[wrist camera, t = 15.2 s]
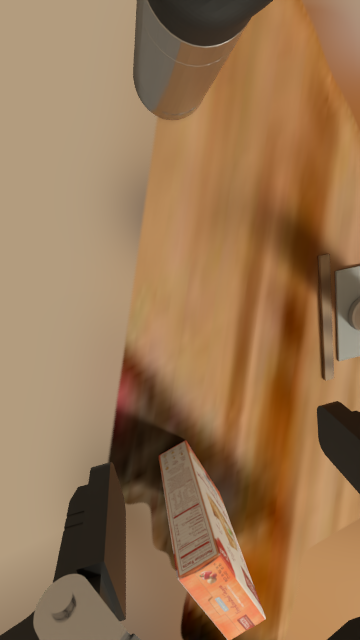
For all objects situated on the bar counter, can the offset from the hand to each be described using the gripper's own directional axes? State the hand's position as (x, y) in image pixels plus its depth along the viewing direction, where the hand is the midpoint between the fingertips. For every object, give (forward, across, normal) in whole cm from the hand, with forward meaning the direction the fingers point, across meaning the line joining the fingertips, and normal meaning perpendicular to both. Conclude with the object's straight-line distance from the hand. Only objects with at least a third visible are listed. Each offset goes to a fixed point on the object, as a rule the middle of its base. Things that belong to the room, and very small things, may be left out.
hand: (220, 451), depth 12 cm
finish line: (+36, -27, +12) cm, 47 cm away
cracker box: (+36, 0, +35) cm, 50 cm away
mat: (+36, -34, +12) cm, 51 cm away
